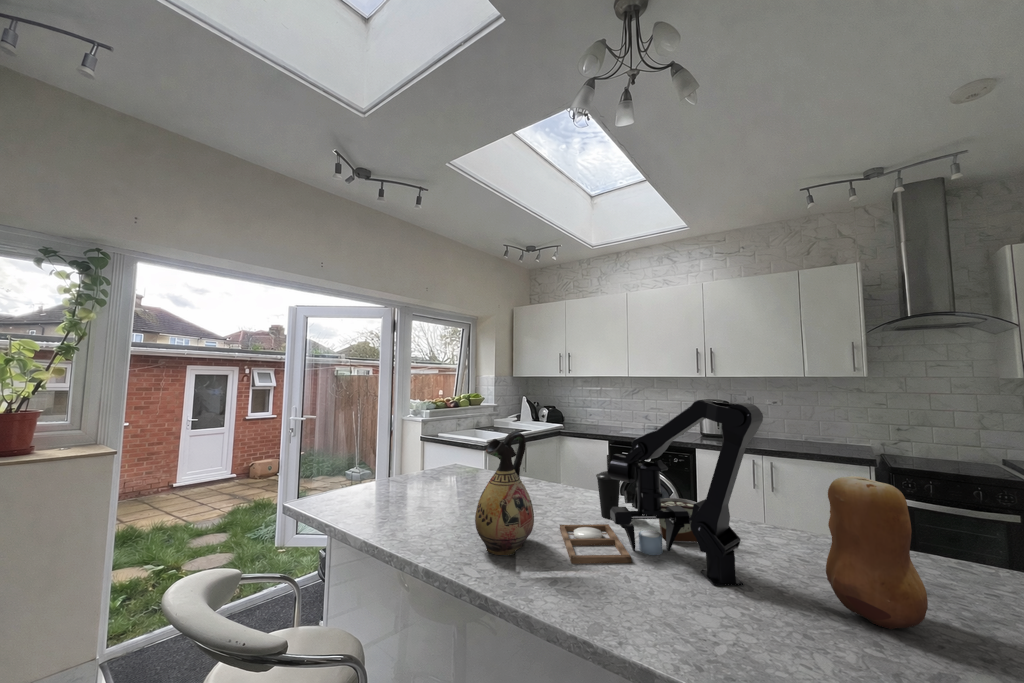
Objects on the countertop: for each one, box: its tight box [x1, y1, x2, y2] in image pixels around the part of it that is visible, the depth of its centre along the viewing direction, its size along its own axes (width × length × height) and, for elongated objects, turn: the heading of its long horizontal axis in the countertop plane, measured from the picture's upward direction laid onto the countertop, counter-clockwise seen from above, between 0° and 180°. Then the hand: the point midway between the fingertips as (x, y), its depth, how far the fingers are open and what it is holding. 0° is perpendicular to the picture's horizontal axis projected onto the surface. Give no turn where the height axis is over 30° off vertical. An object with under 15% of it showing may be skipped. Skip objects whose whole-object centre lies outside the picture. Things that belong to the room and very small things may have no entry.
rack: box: [559, 523, 632, 565], centre depth 107 cm, size 22×14×2 cm, turn 0°
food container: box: [658, 497, 697, 543], centre depth 115 cm, size 12×6×10 cm, turn 84°
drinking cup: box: [595, 454, 621, 520], centre depth 130 cm, size 8×8×20 cm
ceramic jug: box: [474, 431, 535, 556], centre depth 109 cm, size 17×15×30 cm
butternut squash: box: [825, 475, 929, 630], centre depth 76 cm, size 14×13×25 cm
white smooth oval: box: [573, 527, 603, 539], centre depth 113 cm, size 8×8×1 cm
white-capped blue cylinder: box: [638, 529, 664, 556], centre depth 103 cm, size 6×6×5 cm
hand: (650, 550), depth 103 cm, fingers open, 8 cm apart
